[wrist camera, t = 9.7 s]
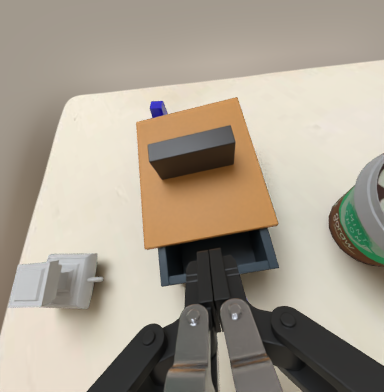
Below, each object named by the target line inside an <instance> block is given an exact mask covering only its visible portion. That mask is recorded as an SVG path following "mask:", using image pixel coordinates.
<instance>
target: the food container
mask: <svg viewBox="0 0 384 392" xmlns="http://www.w3.org/2000/svg"><path fill="white" fill-rule="evenodd" d="M329 229H330V231H331V234H332V237H333V239H334V240H335V242H336V243H337V245H338V246H339V247H340V248H341V249H342V250H343V251H344V252H345V253H347V254H348V255H349V256H351V257H352V258H354V259H356V260H358V261H360V262H363V263H365V264H369V265H374V266H382V267H384V153H383V154H381V155H380V156H378V157H376V158H374V159H373V160H372V161H370V162H369V163H368V164H367V165H366V166H365V167H364V168H363V170H362V171H361V172H360V174H359V176H358V178H357V181H356V184H355V185H354V186H353V187H352V188H351V189H350V190H349V191H348V192H347V193H346V194H345V195H343V196H342V197H341V198H340V199H339V200H338V201H337V202H336V203H335V205H334V206H333V207H332V209H331V212H330V215H329Z"/></svg>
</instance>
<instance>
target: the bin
mask: <svg viewBox="0 0 384 392" xmlns="http://www.w3.org/2000/svg"><path fill="white" fill-rule="evenodd" d="M217 248H221V253H222V256H227V255H231V256H232V257H233V258H234V259H235V260H236V263H237V267H238V271H239V274H244V273H250V272H256V271H262V270H269V269H275V268H279V265H278V262H277V259H276V255H275V252H274V248H273V245H272V242H271V238H270V235H269V232H268V228H262V229H257V230H251V231H246V232H241V233H235V234H230V235H224V236H219V237H214V238H208V239H203V240H197V241H192V242H187V243H181V244H176V245H170V246H165V247H160V248H158V254H159V265H160V277H161V286H162V287H163V286H169V285H175V284H182V283H186V268H187V267H188V265H189V263H190V262H192V261H197V252H200V251H205V250H208V251H209V250H211V249H217Z"/></svg>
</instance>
